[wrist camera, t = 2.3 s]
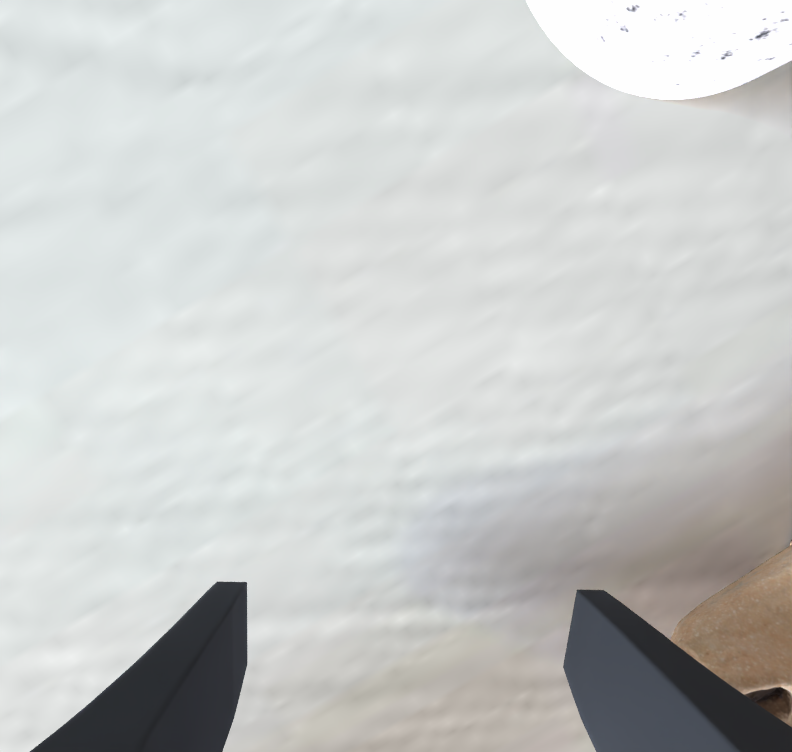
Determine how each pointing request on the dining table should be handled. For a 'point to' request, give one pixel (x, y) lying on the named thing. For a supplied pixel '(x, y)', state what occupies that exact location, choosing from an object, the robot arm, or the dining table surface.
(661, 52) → the teacup with lid
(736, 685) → the pottery oil lamp
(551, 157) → the dining table surface
